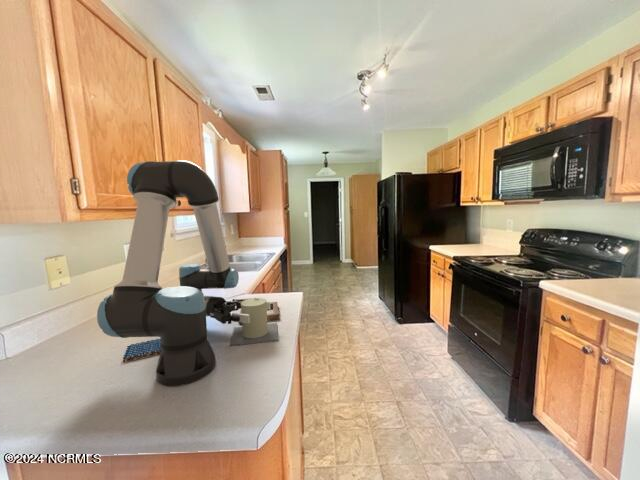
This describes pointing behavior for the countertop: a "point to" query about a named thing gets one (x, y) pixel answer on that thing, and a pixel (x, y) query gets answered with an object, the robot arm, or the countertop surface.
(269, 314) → the cradle
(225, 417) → the countertop surface
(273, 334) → the pad
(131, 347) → the woven mat
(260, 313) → the can
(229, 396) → the countertop surface
